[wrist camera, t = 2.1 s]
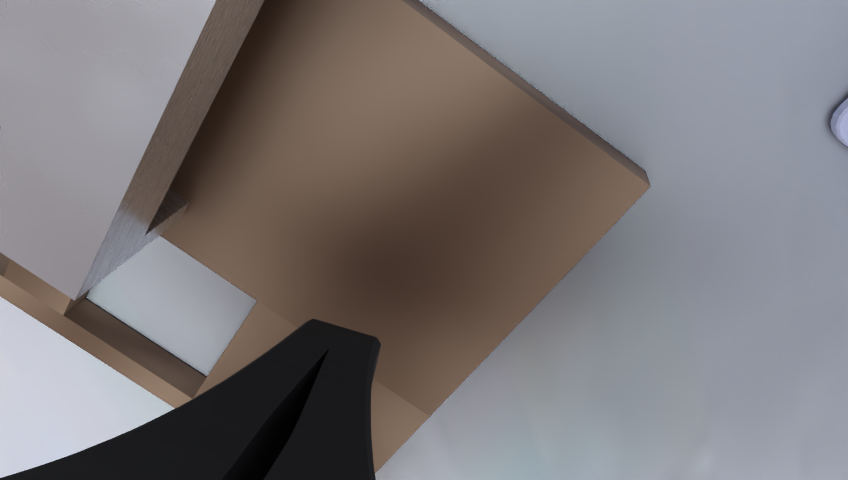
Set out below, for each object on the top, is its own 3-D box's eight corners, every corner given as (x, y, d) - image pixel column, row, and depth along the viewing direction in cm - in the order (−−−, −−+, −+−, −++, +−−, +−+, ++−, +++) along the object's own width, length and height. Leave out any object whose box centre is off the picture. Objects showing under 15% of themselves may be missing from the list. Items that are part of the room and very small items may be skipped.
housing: (343, -85, 13) (258, -89, 9) (180, 219, 17) (75, 300, 13) (33, -319, 12) (-190, -422, 9) (-64, 54, 16) (-247, 92, 12)
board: (673, 141, 15) (697, 188, 12) (346, 488, 22) (316, 567, 19) (-260, -569, 13) (-480, -701, 10) (-299, 70, 19) (-438, 93, 17)
